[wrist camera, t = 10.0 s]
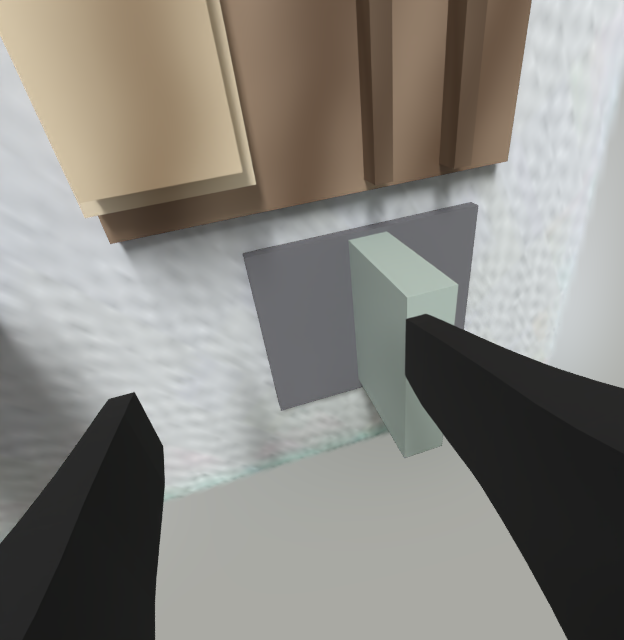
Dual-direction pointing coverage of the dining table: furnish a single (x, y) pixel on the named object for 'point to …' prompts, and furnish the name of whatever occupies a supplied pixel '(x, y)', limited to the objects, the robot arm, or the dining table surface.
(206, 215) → the walnut rack
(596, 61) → the dining table surface
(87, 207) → the lower pine offcut
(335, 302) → the charcoal mat
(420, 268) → the sage panel
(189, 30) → the upper pine offcut
